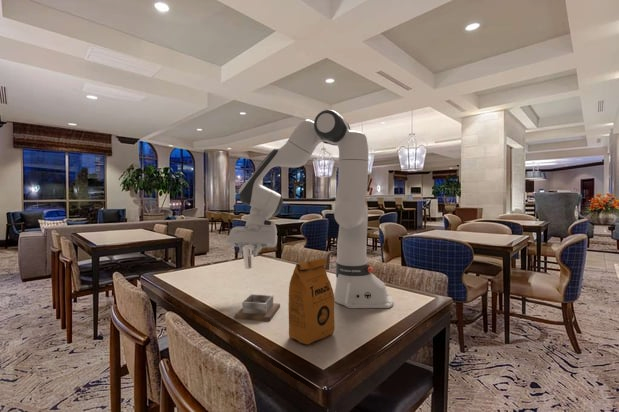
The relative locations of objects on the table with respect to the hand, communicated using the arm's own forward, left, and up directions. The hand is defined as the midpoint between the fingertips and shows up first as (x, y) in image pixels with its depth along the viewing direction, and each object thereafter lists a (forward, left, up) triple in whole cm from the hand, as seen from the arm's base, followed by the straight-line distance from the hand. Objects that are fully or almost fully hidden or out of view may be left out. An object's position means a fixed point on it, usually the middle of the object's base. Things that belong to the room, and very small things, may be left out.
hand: (247, 254), depth 118 cm
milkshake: (0, -1, -6) cm, 6 cm away
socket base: (-9, +13, -17) cm, 23 cm away
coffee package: (-30, +27, -17) cm, 44 cm away
